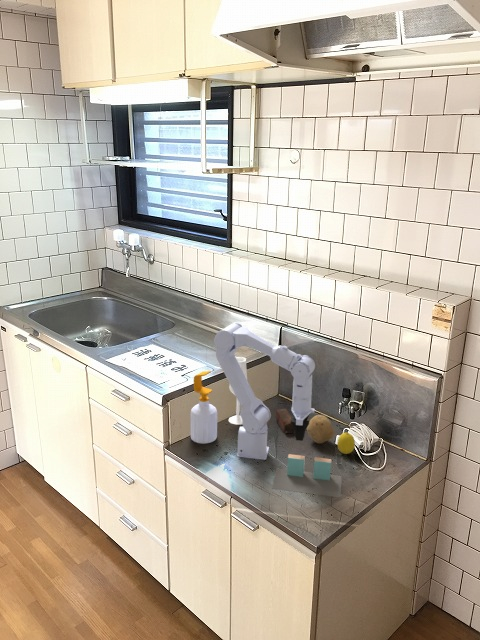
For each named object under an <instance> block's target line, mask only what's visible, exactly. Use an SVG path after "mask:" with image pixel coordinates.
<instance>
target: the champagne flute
mask: <svg viewBox="0 0 480 640" xmlns="http://www.w3.org/2000/svg"><path fill="white" fill-rule="evenodd" d="M235 358H236V360H237V361H238V363H239V365H240V367H241V369H242V371H243V373H244V375H245V377H246V379H247V380H248V369H247V358H246V357H243V356H235ZM228 388H229V391H230V392H231V393H232V394H233V395H234V396H235V397H236V395H235V393H234V391H233V389H232V387H231V385H230V384H229V386H228ZM235 406H236V407H235V408H236V409H235V412H236V413H235V415H233V416H230V417H229V418H228V422H229V423H230V424H233V425H243V424H242V418H241V416H240V411H241V405H240V403H239V401H238V399H237V398H236V405H235Z"/></svg>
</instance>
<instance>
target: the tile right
mask: <svg viewBox="0 0 480 640" xmlns="http://www.w3.org/2000/svg"><path fill="white" fill-rule="evenodd" d="M331 470H332V459H331V458H327V457H326V458H323V457H316V456H315V457H314V462H313V472H312V473H313V478H314V479H322V480H330V475H331Z"/></svg>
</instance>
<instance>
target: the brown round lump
mask: <svg viewBox="0 0 480 640" xmlns="http://www.w3.org/2000/svg"><path fill="white" fill-rule="evenodd" d="M309 421H310V422H309V425H308V427H307V428H306V432H307V435H309V436H310V438H311V439H312V441H314V442H315V443H316V444H324V443H325V442H328V441H329V440H332V439H333V438H334V436H335V430H334V427H333V425H332V422H331V421H330V419H329V418H328V417H327V416H325V415H323V414H317V415H314V416H312V418H310V420H309Z"/></svg>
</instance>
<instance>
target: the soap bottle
mask: <svg viewBox="0 0 480 640" xmlns="http://www.w3.org/2000/svg"><path fill="white" fill-rule="evenodd" d="M211 373H212V371H211V370H205V371H200V372H199V373H198V374H196V375H194V376H193V391H194V392H195V393H198V394H199V395H200V396H199V397H198V403H197V404H195V405H194V406H193V407H192V408H191V409H190V438H191V440H192V441H193V442H194V443H197V444H202V445H203V444H210V443H213V442H214V441H216V440H217V437H218V409H217V407H216V406H214V405H213V404H211V403H210V398H209V396H208V395H209V394H211V393H212V392H213V389H212V388H208V387H205V386H203V384H202V379H203V378H202V377H204V376H207V375H208V374H211Z"/></svg>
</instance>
